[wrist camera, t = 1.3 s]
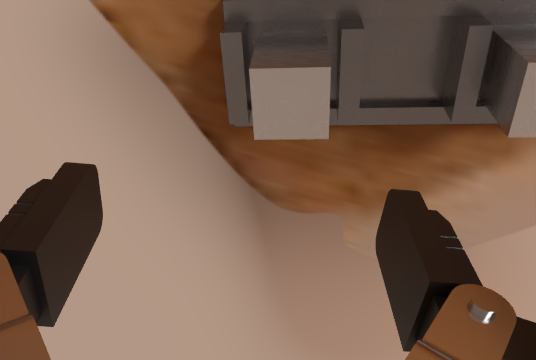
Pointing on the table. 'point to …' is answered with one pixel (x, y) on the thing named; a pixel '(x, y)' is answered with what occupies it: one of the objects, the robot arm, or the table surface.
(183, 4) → the table surface
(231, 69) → the grey divided rack
